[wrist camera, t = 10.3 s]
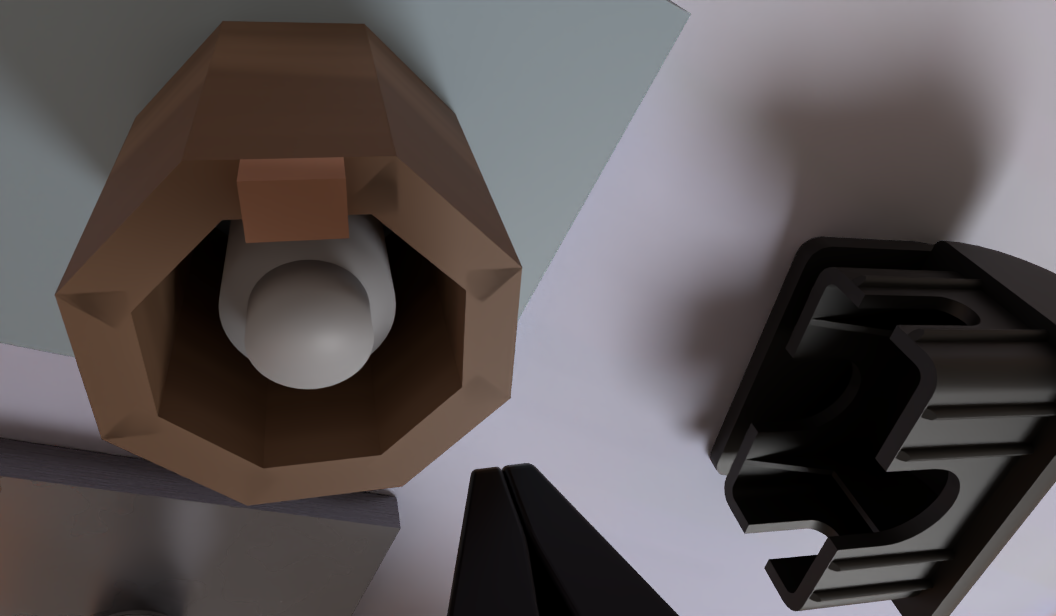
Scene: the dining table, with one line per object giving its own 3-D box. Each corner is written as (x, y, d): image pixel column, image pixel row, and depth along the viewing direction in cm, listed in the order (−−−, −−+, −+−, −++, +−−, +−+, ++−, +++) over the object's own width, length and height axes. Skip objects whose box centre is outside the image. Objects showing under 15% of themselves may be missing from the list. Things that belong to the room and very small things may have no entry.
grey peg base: (448, 402, 22) (498, 621, 16) (-56, 295, 17) (-234, 564, 11) (668, -1, 17) (852, 120, 11) (35, -345, 11) (-216, -441, 6)
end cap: (867, 463, 29) (996, 624, 23) (699, 472, 27) (799, 651, 21) (1005, 230, 23) (1213, 371, 18) (808, 219, 21) (978, 374, 16)
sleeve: (450, 286, 18) (511, 500, 13) (176, 303, 17) (121, 552, 11) (457, 25, 15) (544, 172, 9) (114, 18, 13) (-6, 188, 8)
